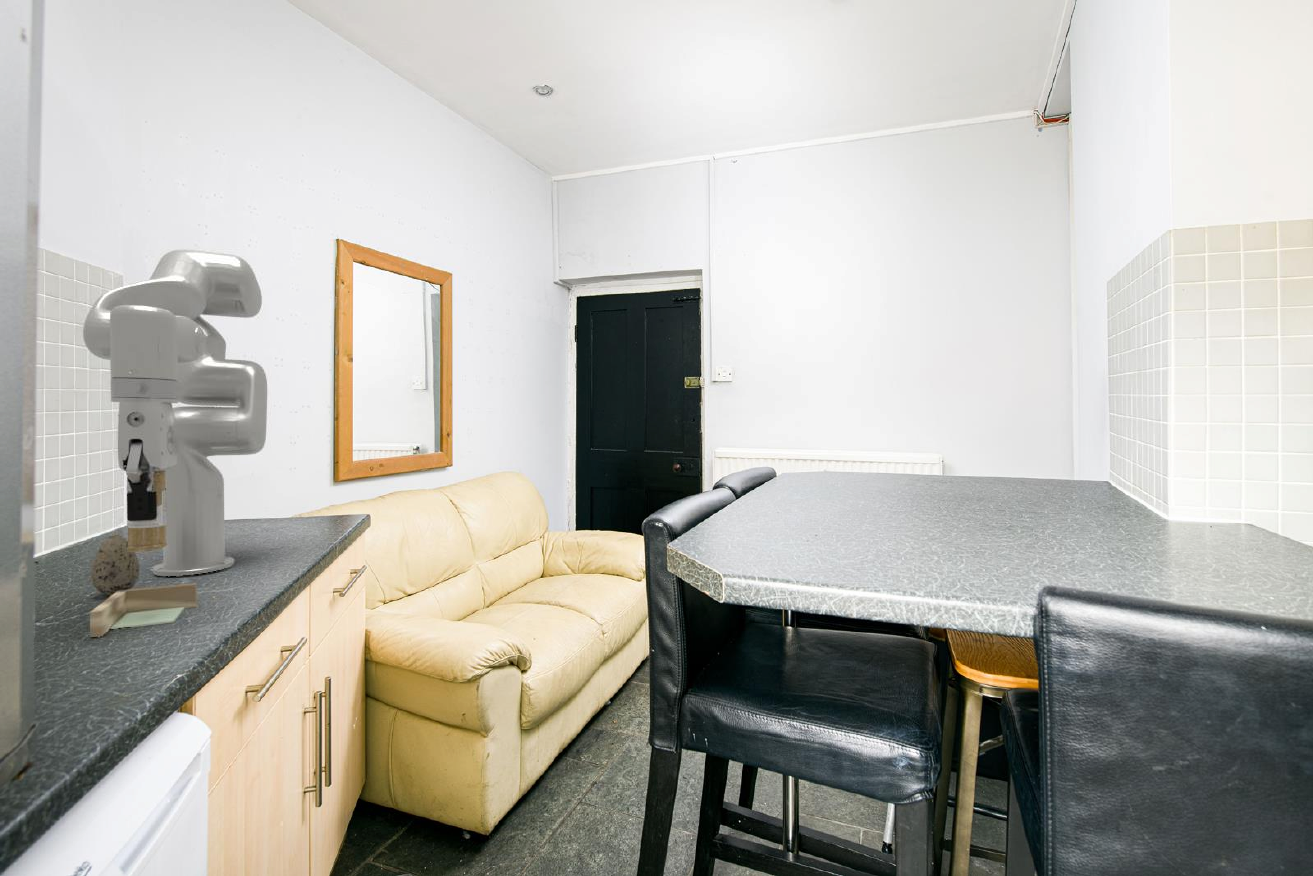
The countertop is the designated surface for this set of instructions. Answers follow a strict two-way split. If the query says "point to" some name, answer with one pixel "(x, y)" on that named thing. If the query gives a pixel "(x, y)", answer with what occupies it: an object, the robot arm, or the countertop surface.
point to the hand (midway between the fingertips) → (147, 516)
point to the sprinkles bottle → (150, 521)
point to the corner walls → (140, 604)
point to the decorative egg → (114, 566)
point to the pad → (148, 618)
